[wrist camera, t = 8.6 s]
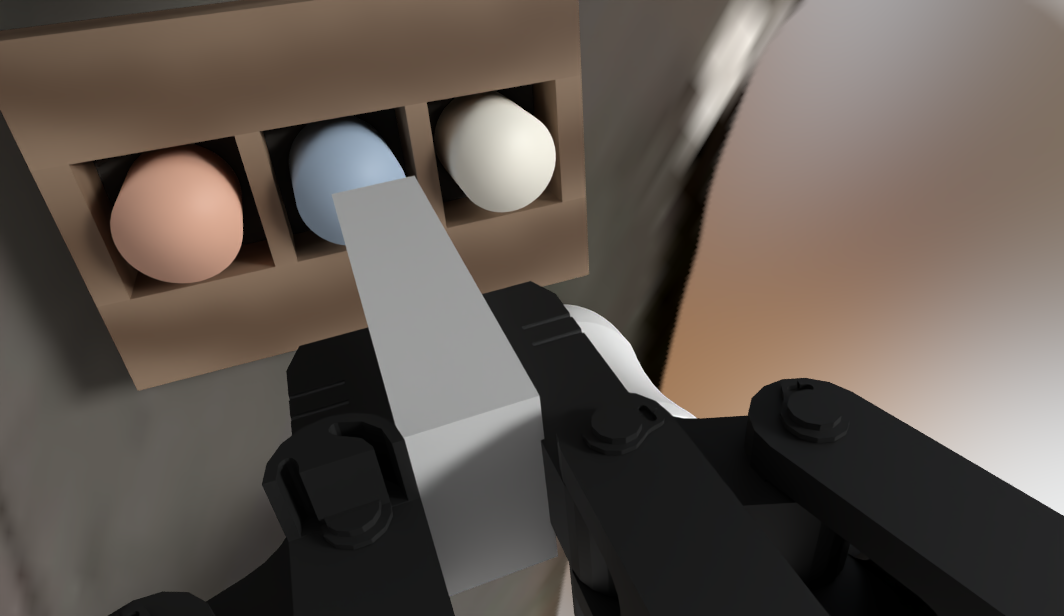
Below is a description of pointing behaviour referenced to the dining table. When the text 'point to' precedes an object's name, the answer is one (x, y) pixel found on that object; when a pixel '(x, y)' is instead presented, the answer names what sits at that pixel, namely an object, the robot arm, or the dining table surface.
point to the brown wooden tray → (245, 112)
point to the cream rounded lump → (494, 151)
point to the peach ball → (179, 214)
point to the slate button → (336, 168)
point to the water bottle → (621, 357)
